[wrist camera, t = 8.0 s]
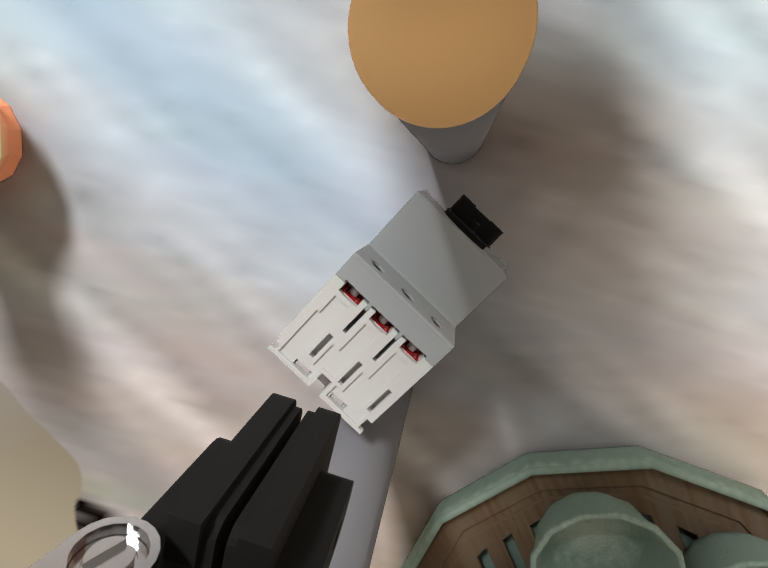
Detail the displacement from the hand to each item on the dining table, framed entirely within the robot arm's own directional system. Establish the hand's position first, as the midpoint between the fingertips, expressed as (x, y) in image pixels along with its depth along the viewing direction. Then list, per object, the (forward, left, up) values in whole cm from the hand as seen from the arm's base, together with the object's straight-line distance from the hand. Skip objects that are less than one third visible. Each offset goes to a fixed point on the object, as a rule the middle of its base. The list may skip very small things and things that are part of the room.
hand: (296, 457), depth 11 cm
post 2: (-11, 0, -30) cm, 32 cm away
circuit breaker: (+1, 0, -30) cm, 30 cm away
